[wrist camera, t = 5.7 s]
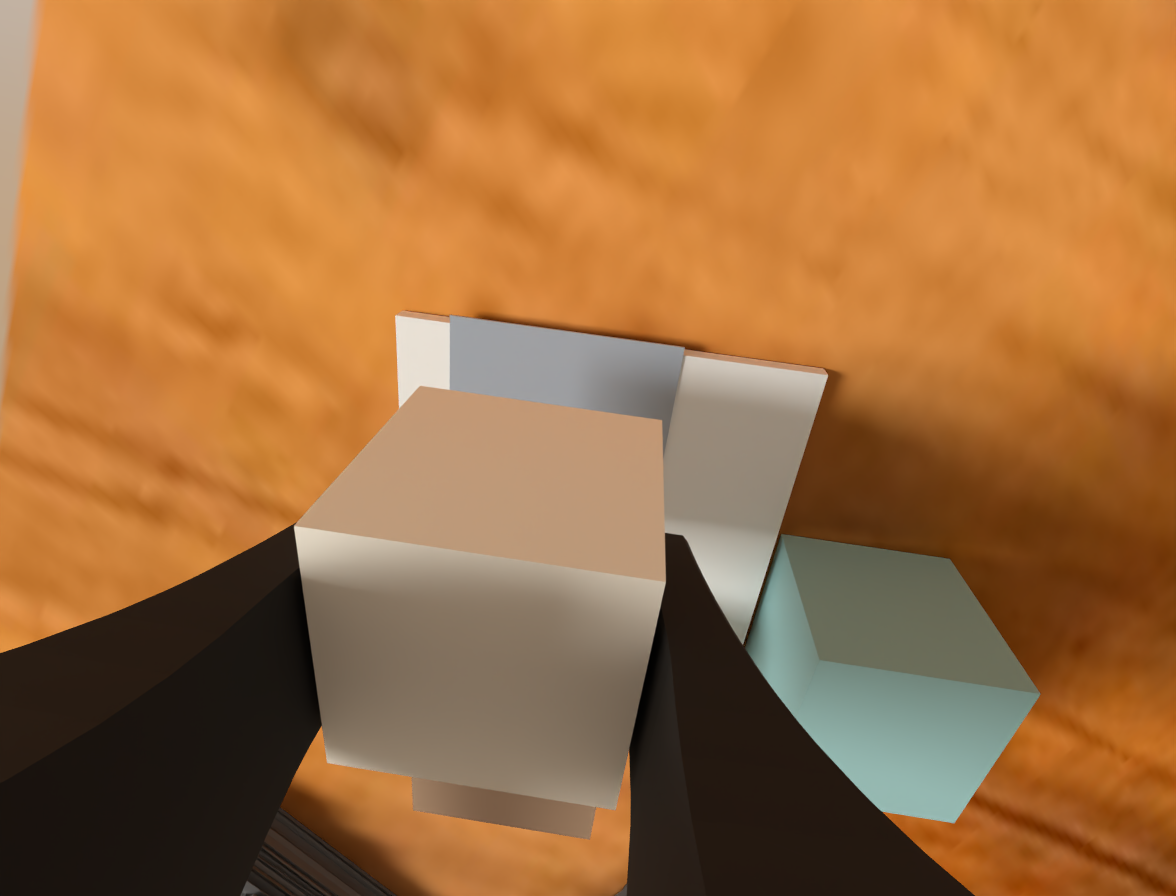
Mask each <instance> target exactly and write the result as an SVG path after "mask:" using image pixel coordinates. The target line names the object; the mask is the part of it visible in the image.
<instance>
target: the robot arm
mask: <svg viewBox="0 0 1176 896" xmlns="http://www.w3.org/2000/svg"><path fill="white" fill-rule="evenodd" d="M295 524H296V523H295ZM295 524H293V525H291V526H290V527H288V528H286V529H284V530H283V531H281V532H279V533H277V534H276V535H274V536H272V537H270V538H269V539H267V540H265V541H263V542H261V543H260V544H258V545H256V546H254V547H252V548H250V549H248V550H246V551H244V552H242V553H241V554H239V555H237V556H235V557H233V558H231V559H229V560H227V561H225V562H223V563H221V564H219V565H217V566H215V567H214V568H212V569H210V570H208V571H206V572H204V573H202V574H200V575H198V576H196V577H194V578H192V579H190V580H188V581H185V582H183V583H181V584H179V585H177V586H175V587H173V588H170V589H168V590H166V591H164V592H162V593H159V594H157V595H155V596H152V597H150V598H147V599H145V600H143V601H140V602H138V603H136V604H133V605H131V606H129V607H126V608H124V609H122V610H119V611H117V612H114V613H112V614H109V615H107V616H104V617H101V618H98V619H96V620H93V621H90V622H87V623H85V624H82V625H79V626H77V627H74V628H71V629H68V630H66V631H63V632H60V633H57V634H55V635H52V636H49V637H46V638H44V639H41V640H38V641H35V642H33V643H30V644H27V645H24V646H21V647H18V648H15V649H12V650H9V651H6V652H3V653H0V896H241V893H242V891H243V889H244V886H245V884H246V882H247V880H248V877H249V875H250V873H251V870H252V868H253V866H254V864H255V861H256V859H257V857H258V854H259V852H260V850H261V847H262V845H263V843H264V841H265V838H266V836H267V834H268V831H269V829H270V827H271V825H272V823H273V821H274V818H275V816H276V814H277V812H278V810H279V808H280V805H281V803H282V801H283V799H284V797H285V795H286V792H287V790H288V788H289V786H290V784H291V782H292V779H293V777H294V775H295V773H296V771H297V769H298V767H299V765H300V763H301V761H302V760H303V758H304V756H305V754H306V752H307V750H308V748H309V746H310V745H311V743H312V741H313V739H314V738H315V736H316V734H317V733H318V731H319V729H320V727H321V726H322V722H321V715H320V708H319V701H318V694H317V687H316V679H315V672H314V665H313V658H312V651H311V644H310V637H309V630H308V623H307V616H306V609H305V601H304V594H303V587H302V580H301V573H300V566H299V559H298V552H297V545H296V538H295V531H294V525H295ZM665 566H666V584H665V588H664V593H663V597H662V602H661V606H660V611H659V616H658V620H657V625H656V629H655V634H654V638H653V643H652V647H651V652H650V656H649V661H648V665H647V670H646V674H645V679H644V683H643V688H642V692H641V697H640V702H639V706H638V711H637V715H636V720H635V724H634V729H633V733H632V738H631V742H630V747H629V754H630V787H631V827H630V844H629V862H628V879H627V896H975V895H973V894H972V893H971V892H970V891H969V890H968V889H966V888H965V887H964V886H963V885H962V884H961V883H959V882H958V881H957V880H956V879H955V878H954V877H952V876H951V875H950V874H949V873H948V872H947V871H945V870H944V869H943V868H942V867H941V866H940V865H939V864H937V863H936V862H935V861H934V860H933V859H932V858H930V857H929V856H928V855H927V854H926V853H925V852H924V851H923V850H921V849H920V848H919V847H918V846H917V845H916V844H915V843H914V842H913V841H912V840H911V839H910V838H909V837H908V836H907V835H906V834H905V833H903V832H902V831H901V830H900V829H899V828H898V827H897V826H896V825H895V824H894V823H893V822H892V821H891V820H890V819H889V818H888V817H887V816H886V815H885V814H884V813H883V812H881V811H880V810H879V809H878V808H877V807H876V806H875V805H874V804H873V803H872V802H871V801H870V800H869V799H868V798H867V797H866V796H865V795H864V794H863V793H862V792H861V791H860V790H859V789H858V787H857V786H856V785H855V784H854V783H853V782H852V781H851V780H850V779H849V778H848V777H847V776H846V775H845V773H844V772H843V771H842V770H841V769H840V768H839V767H838V766H837V765H836V764H835V763H834V762H833V761H832V759H831V758H830V757H829V756H828V755H827V754H826V753H825V752H824V751H823V750H822V749H821V748H820V746H819V745H818V744H817V743H816V742H815V741H814V740H813V739H812V737H811V736H810V735H809V734H808V733H807V731H806V730H805V729H804V728H803V727H802V725H801V724H800V723H799V722H798V721H797V719H796V718H795V717H794V716H793V714H792V713H791V712H790V711H789V709H788V708H787V707H786V705H785V704H784V703H783V702H782V700H781V699H780V698H779V696H778V695H777V694H776V692H775V691H774V690H773V688H772V687H771V686H770V684H769V683H768V682H767V680H766V679H765V677H764V676H763V674H762V673H761V672H760V670H759V669H758V667H757V666H756V664H755V663H754V661H753V660H752V658H751V657H750V655H749V654H748V652H747V651H746V649H745V648H744V646H743V645H742V643H741V641H740V640H739V638H738V637H737V635H736V633H735V632H734V630H733V629H732V627H731V625H730V623H729V622H728V620H727V618H726V616H725V615H724V613H723V611H722V610H721V608H720V606H719V604H718V603H717V601H716V599H715V597H714V595H713V594H712V592H711V590H710V588H709V586H708V584H707V582H706V580H705V578H704V576H703V574H702V572H701V570H700V568H699V566H698V564H697V562H696V560H695V557H694V555H693V553H692V551H691V548H690V546H689V544H688V541H687V540H686V539H685V537H684V536H683V535H677V534H670V533H665Z"/></svg>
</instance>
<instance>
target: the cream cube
mask: <svg viewBox="0 0 1176 896" xmlns="http://www.w3.org/2000/svg"><path fill="white" fill-rule="evenodd" d="M294 531H295V538H296V545H297V552H298V559H299V566H300V573H301V580H302V587H303V594H304V601H305V609H306V616H307V623H308V630H309V637H310V644H311V651H312V658H313V665H314V672H315V679H316V687H317V694H318V701H319V708H320V715H321V722H322V729H323V736H324V743H325V750H326V758H327V763H331V764H337V765H343V766H349V767H355V768H361V769H367V770H373V771H380V772H386V773H392V774H398V775H404V776H410V777H416V778H422V779H428V780H434V781H441V782H447V783H453V784H459V785H465V786H471V787H477V788H483V789H489V790H495V791H502V792H508V793H514V794H520V795H526V796H532V797H538V798H544V799H550V800H556V801H563V802H569V803H575V804H581V805H587V806H593V807H599V808H605V809H611V810H616V806H617V801H618V797H619V792H620V788H621V783H622V778H623V774H624V769H625V765H626V760H627V756H628V751H629V747H630V742H631V738H632V733H633V729H634V724H635V720H636V715H637V711H638V706H639V702H640V697H641V692H642V688H643V683H644V679H645V674H646V670H647V665H648V661H649V656H650V652H651V647H652V643H653V638H654V634H655V629H656V625H657V620H658V616H659V611H660V606H661V602H662V597H663V593H664V588H665V584H666V566H665V522H664V479H663V435H662V420H657V419H650V418H643V417H636V416H629V415H622V414H615V413H608V412H601V411H594V410H587V409H580V408H573V407H566V406H559V405H552V404H545V403H538V402H531V401H524V400H517V399H510V398H503V397H496V396H489V395H482V394H475V393H468V392H461V391H454V390H447V389H440V388H433V387H426V386H419V387H418V388H417V389H416V391H415V392H414V393H413V394H412V395H411V396H410V397H409V398H408V399H407V401H406V402H405V403H404V404H403V405H402V406H401V407H400V408H399V409H398V411H397V412H396V413H395V414H394V415H393V416H392V417H391V418H390V419H389V421H388V422H387V423H386V424H385V425H384V426H383V427H382V428H381V430H380V431H379V432H378V433H377V434H376V435H375V436H374V437H373V438H372V440H371V441H370V442H369V443H368V444H367V445H366V446H365V447H364V448H363V450H362V451H361V452H360V453H359V454H358V455H357V456H356V457H355V458H354V460H353V461H352V462H351V463H350V464H349V465H348V466H347V467H346V468H345V470H344V471H343V472H342V473H341V474H340V475H339V476H338V477H337V478H336V480H335V481H334V482H333V483H332V484H331V485H330V486H329V487H328V488H327V490H326V491H325V492H324V493H323V494H322V495H321V496H320V497H319V498H318V500H317V501H316V502H315V503H314V504H313V505H312V506H311V507H310V508H309V510H308V511H307V512H306V513H305V514H304V515H303V516H302V517H301V518H300V520H299V521H298V522H297V523H296V524H295V525H294Z"/></svg>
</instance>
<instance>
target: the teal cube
mask: <svg viewBox="0 0 1176 896" xmlns="http://www.w3.org/2000/svg"><path fill="white" fill-rule="evenodd" d="M745 649H746V651H747V652H748V654H749V655H750V657H751V658H752V660H753V661H754V663H755V664H756V666H757V667H758V669H759V670H760V672H761V673H762V674H763V676H764V677H765V679H766V680H767V682H768V683H769V684H770V686H771V687H772V688H773V690H774V691H775V692H776V694H777V695H778V696H779V698H780V699H781V700H782V702H783V703H784V704H785V705H786V707H787V708H788V709H789V711H790V712H791V713H792V714H793V716H794V717H795V718H796V719H797V721H798V722H799V723H800V724H801V725H802V727H803V728H804V729H805V730H806V731H807V733H808V734H809V735H810V736H811V737H812V739H813V740H814V741H815V742H816V743H817V744H818V745H819V746H820V748H821V749H822V750H823V751H824V752H825V753H826V754H827V755H828V756H829V757H830V758H831V759H832V761H833V762H834V763H835V764H836V765H837V766H838V767H839V768H840V769H841V770H842V771H843V772H844V773H845V775H846V776H847V777H848V778H849V779H850V780H851V781H852V782H853V783H854V784H855V785H856V786H857V787H858V789H859V790H860V791H861V792H862V793H863V794H864V795H865V796H866V797H867V798H868V799H869V800H870V801H871V802H872V803H873V804H874V805H875V806H876V807H877V808H878V809H879V810H880V811H882V812H889V813H895V814H901V815H907V816H913V817H920V818H926V819H932V820H938V821H944V822H950V823H955V821H956V820H957V818H958V817H959V815H960V814H961V812H962V811H963V809H964V808H965V806H966V805H967V803H968V802H969V800H970V799H971V797H972V796H973V794H974V793H975V791H976V790H977V788H978V787H979V785H980V784H981V782H982V781H983V779H984V778H985V776H986V775H987V774H988V772H989V771H990V769H991V768H992V766H993V765H994V763H995V762H996V760H997V759H998V757H999V756H1000V754H1001V753H1002V751H1003V750H1004V748H1005V747H1006V745H1007V744H1008V742H1009V741H1010V739H1011V738H1012V736H1013V735H1014V733H1015V732H1016V730H1017V729H1018V727H1019V726H1020V724H1021V723H1022V721H1023V720H1024V718H1025V717H1026V715H1027V714H1028V712H1029V711H1030V709H1031V708H1032V706H1033V705H1034V703H1035V702H1036V700H1037V699H1038V697H1039V696H1040V692H1039V691H1038V689H1037V688H1036V686H1035V685H1034V683H1033V682H1032V680H1031V679H1030V677H1029V676H1028V674H1027V673H1026V671H1025V670H1024V668H1023V667H1022V665H1021V664H1020V662H1019V661H1018V660H1017V658H1016V657H1015V655H1014V654H1013V652H1012V651H1011V649H1010V648H1009V646H1008V645H1007V643H1006V642H1005V640H1004V639H1003V637H1002V636H1001V634H1000V633H999V631H998V630H997V628H996V627H995V625H994V624H993V622H992V621H991V619H990V618H989V616H988V615H987V613H986V612H985V610H984V609H983V607H982V606H981V604H980V603H979V601H978V600H977V598H976V597H975V596H974V594H973V593H972V591H971V590H970V588H969V587H968V585H967V584H966V582H965V581H964V579H963V578H962V576H961V575H960V573H959V572H958V570H957V569H956V567H955V566H954V564H953V563H952V561H951V560H950V559H948V558H941V557H934V556H928V555H921V554H914V553H907V552H900V551H894V550H887V549H880V548H873V547H867V546H860V545H853V544H846V543H839V542H833V541H826V540H819V539H812V538H806V537H799V536H792V535H785V534H781V536H780V539H779V543H778V546H777V549H776V552H775V555H774V558H773V561H772V564H771V568H770V571H769V574H768V577H767V580H766V583H765V586H764V589H763V593H762V596H761V599H760V602H759V605H758V608H757V611H756V614H755V618H754V621H753V624H752V627H751V630H750V633H749V636H748V640H747V643H746V646H745Z"/></svg>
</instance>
